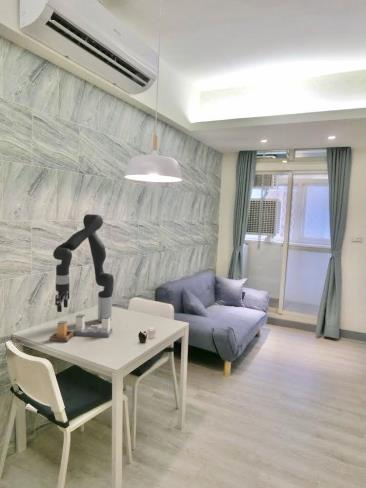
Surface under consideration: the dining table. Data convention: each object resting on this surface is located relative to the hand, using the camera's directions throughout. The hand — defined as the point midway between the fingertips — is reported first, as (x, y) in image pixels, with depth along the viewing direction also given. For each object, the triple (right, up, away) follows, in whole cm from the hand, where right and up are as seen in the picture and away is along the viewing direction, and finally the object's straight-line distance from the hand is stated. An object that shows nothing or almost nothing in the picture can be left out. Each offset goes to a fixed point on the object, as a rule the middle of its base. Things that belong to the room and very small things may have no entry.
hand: (62, 309), depth 188 cm
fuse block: (+15, -17, +11) cm, 25 cm away
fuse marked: (-1, -16, +2) cm, 17 cm away
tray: (-1, -17, +2) cm, 17 cm away
